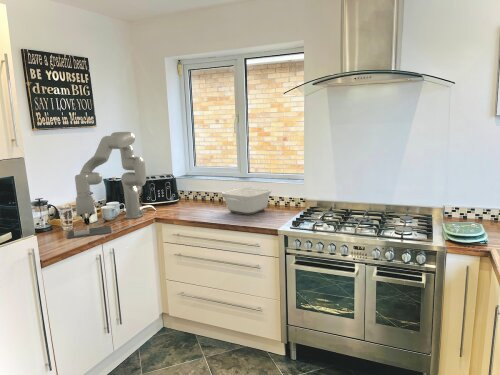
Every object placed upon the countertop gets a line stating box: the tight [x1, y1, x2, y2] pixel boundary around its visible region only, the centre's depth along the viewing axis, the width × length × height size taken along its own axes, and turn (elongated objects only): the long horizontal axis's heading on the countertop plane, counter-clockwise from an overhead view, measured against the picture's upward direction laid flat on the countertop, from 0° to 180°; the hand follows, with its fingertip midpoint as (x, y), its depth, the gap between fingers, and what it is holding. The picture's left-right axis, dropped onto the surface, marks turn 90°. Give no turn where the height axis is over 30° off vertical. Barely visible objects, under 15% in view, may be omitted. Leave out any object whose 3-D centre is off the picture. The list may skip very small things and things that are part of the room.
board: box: [73, 225, 90, 236], centre depth 226 cm, size 10×2×8 cm
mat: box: [66, 225, 112, 240], centre depth 228 cm, size 24×16×1 cm, turn 112°
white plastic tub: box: [221, 186, 272, 216], centre depth 265 cm, size 34×29×15 cm
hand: (87, 224), depth 227 cm, fingers closed
